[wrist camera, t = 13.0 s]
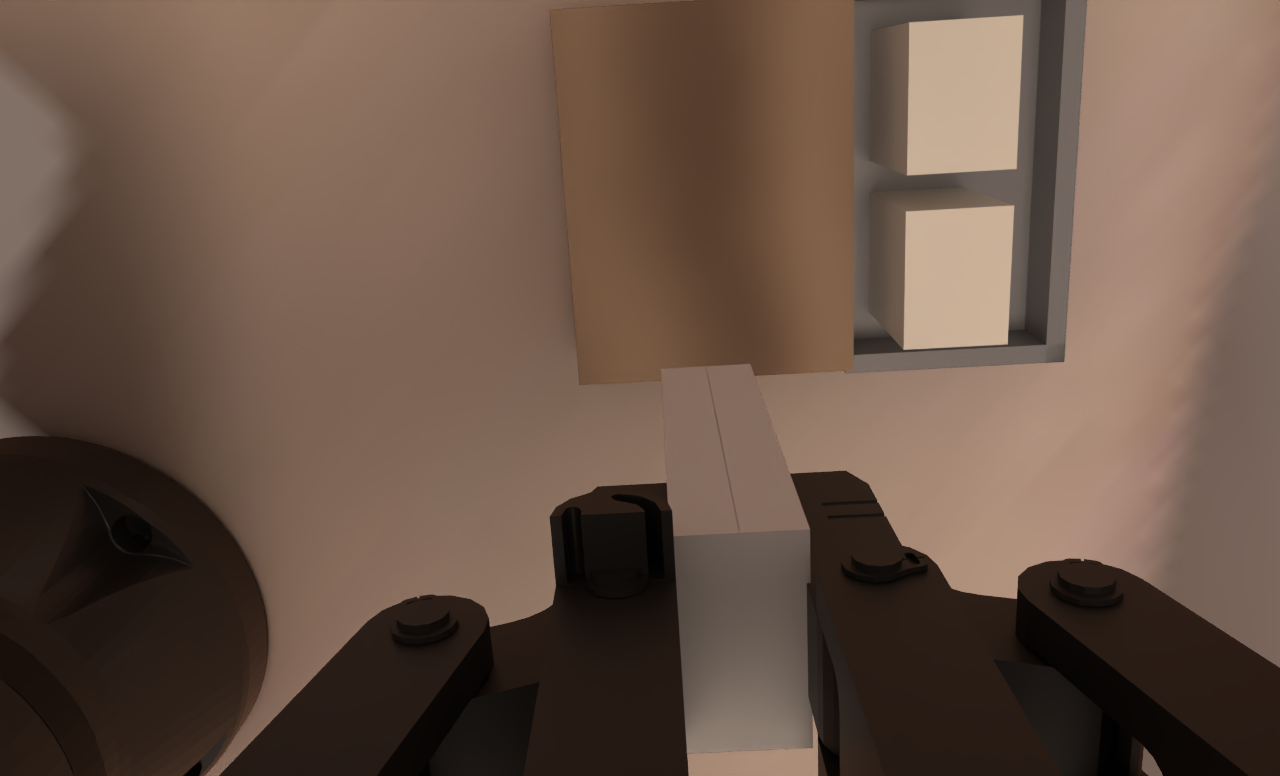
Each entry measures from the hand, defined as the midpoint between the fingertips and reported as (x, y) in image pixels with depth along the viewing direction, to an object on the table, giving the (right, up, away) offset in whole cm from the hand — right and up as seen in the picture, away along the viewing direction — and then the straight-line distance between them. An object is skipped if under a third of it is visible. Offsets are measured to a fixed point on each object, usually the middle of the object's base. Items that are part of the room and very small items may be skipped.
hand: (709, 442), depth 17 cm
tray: (+9, +8, +16) cm, 20 cm away
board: (+1, +8, +17) cm, 18 cm away
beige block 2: (+6, +5, +14) cm, 16 cm away
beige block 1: (+6, +9, +13) cm, 17 cm away
